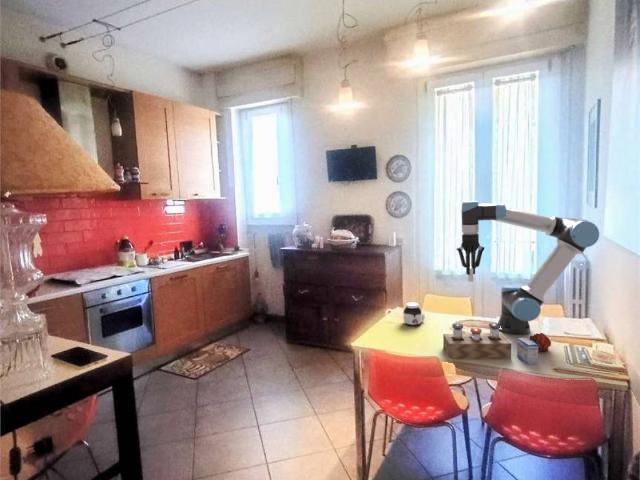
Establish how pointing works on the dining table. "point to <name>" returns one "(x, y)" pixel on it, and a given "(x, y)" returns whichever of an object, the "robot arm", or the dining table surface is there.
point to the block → (477, 347)
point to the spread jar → (413, 314)
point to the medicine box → (527, 351)
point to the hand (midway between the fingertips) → (470, 280)
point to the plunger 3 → (494, 331)
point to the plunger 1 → (457, 331)
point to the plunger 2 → (475, 334)
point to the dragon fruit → (541, 341)
